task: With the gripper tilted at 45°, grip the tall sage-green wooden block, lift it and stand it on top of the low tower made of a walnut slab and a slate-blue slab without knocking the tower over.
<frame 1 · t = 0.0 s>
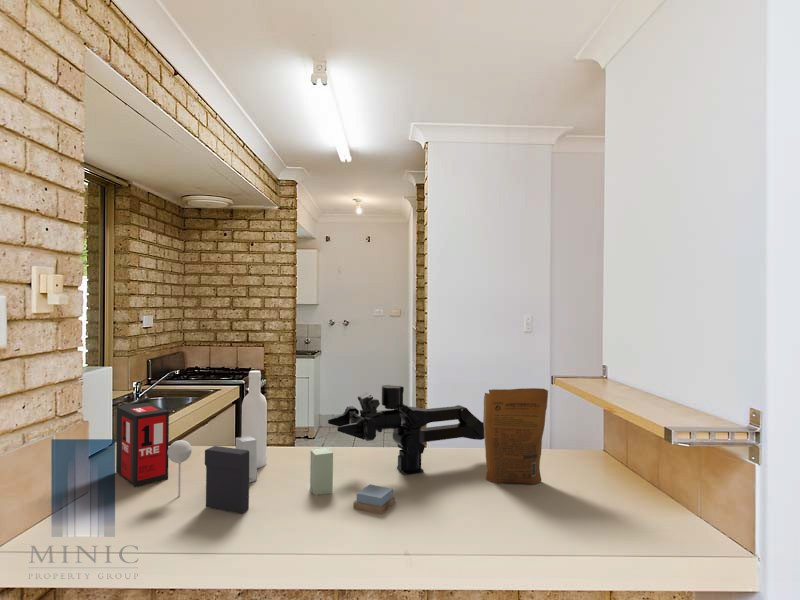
hand: (332, 425, 143), 17 cm above the table, tool horizontal, fingers open, 9 cm apart
lollipop: (179, 497, 132), on the table
skincare box: (245, 480, 145), on the table
pancake mix bag: (514, 482, 145), on the table
bottle: (253, 465, 157), on the table
calculator: (227, 509, 125), on the table
slate top block: (375, 499, 128), point 2 cm above the table, touching walnut base block
cleaning product box: (141, 476, 147), on the table
walnut base block: (374, 507, 128), on the table, touching slate top block
sage block: (321, 490, 137), on the table
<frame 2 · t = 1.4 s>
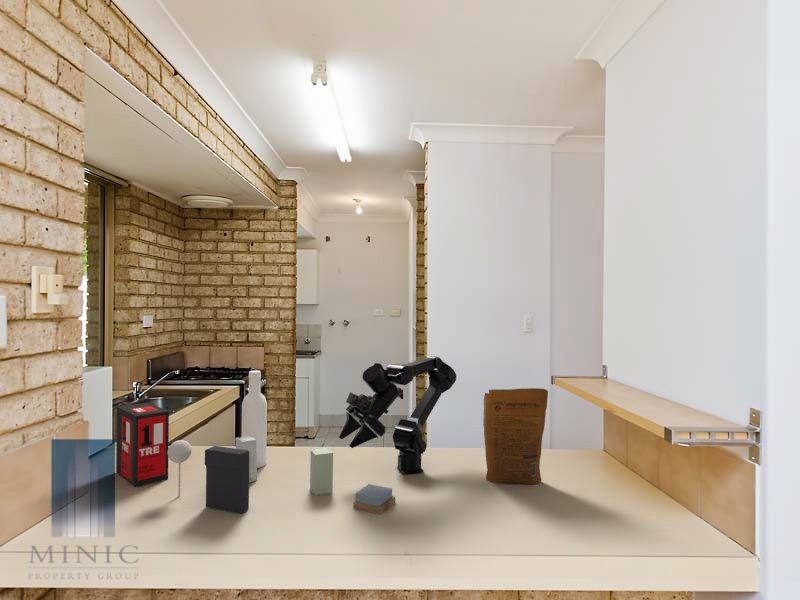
hand: (345, 442, 140), 13 cm above the table, tool tilted 45°, fingers open, 9 cm apart
nothing on the table moved.
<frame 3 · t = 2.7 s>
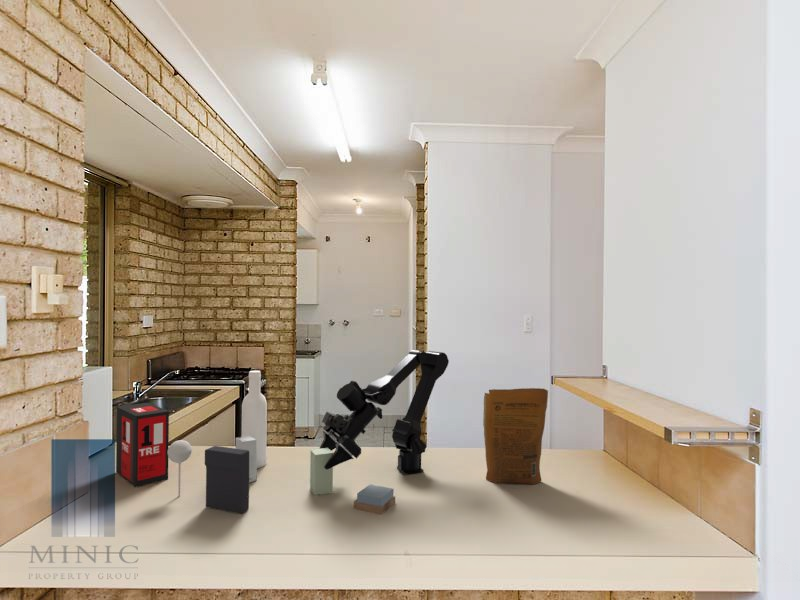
hand: (320, 463, 137), 8 cm above the table, tool tilted 45°, fingers open, 9 cm apart
nothing on the table moved.
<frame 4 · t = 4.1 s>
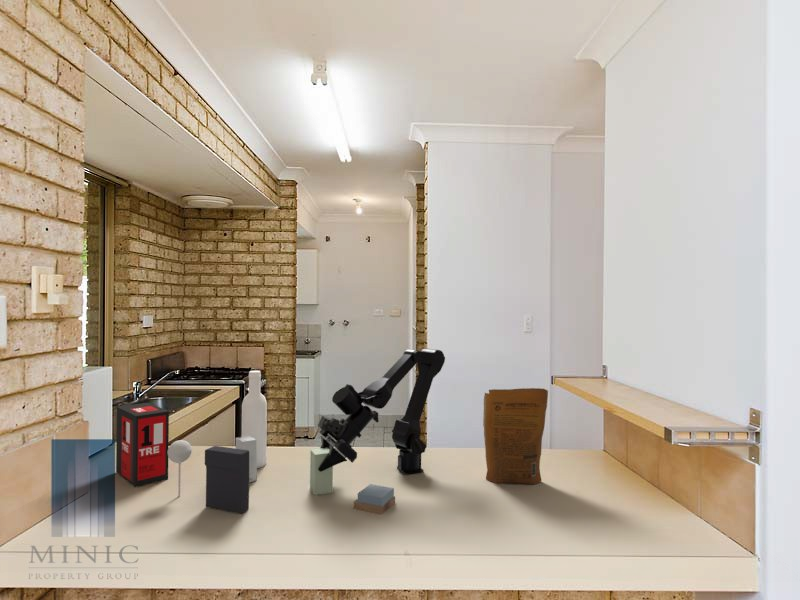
hand: (316, 467, 136), 7 cm above the table, tool tilted 45°, fingers closed on sage block, 5 cm apart
sage block: (321, 490, 137), on the table, touching gripper
everything else where it was.
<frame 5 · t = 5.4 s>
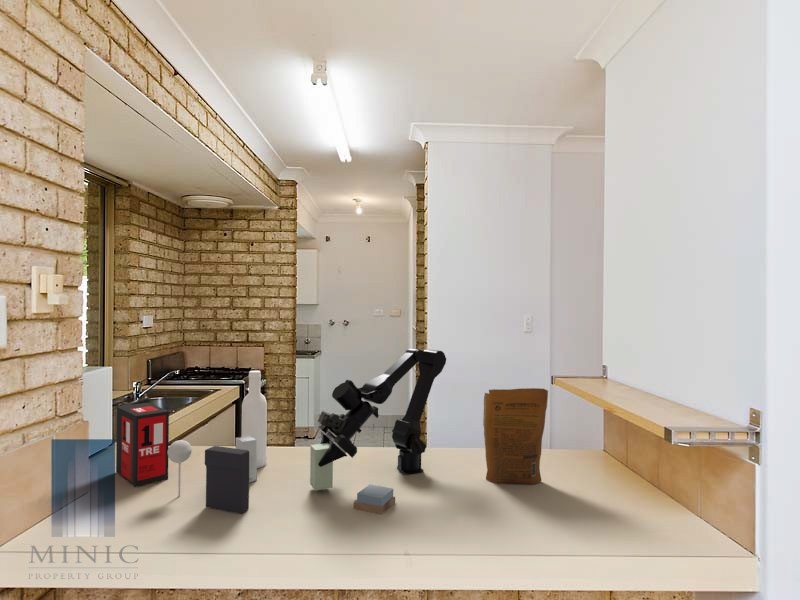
hand: (316, 462, 136), 8 cm above the table, tool tilted 45°, fingers closed on sage block, 5 cm apart
slate top block: (375, 499, 127), point 2 cm above the table
walnut base block: (374, 507, 128), on the table
sage block: (321, 485, 137), point 1 cm above the table, touching gripper
everything else where it was.
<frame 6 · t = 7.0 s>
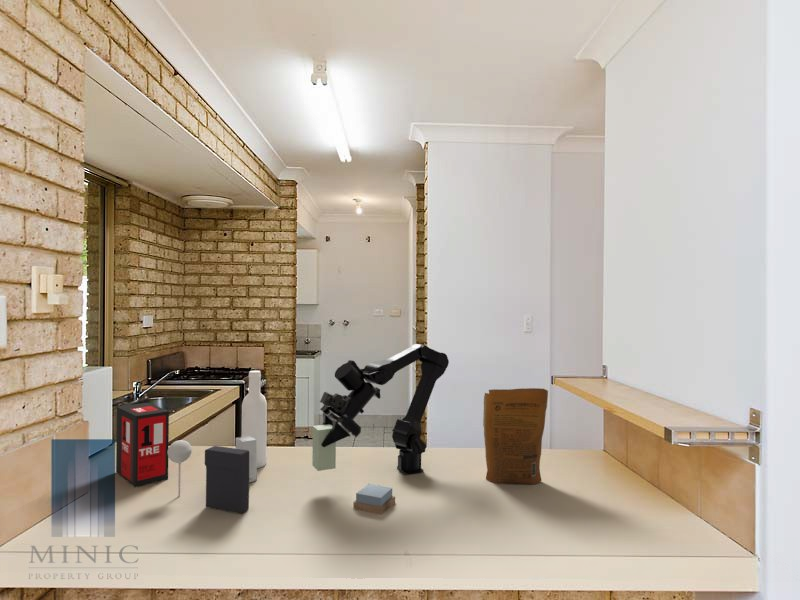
hand: (319, 443, 135), 14 cm above the table, tool tilted 45°, fingers closed on sage block, 5 cm apart
sage block: (323, 466, 136), point 7 cm above the table, touching gripper
everything else where it was.
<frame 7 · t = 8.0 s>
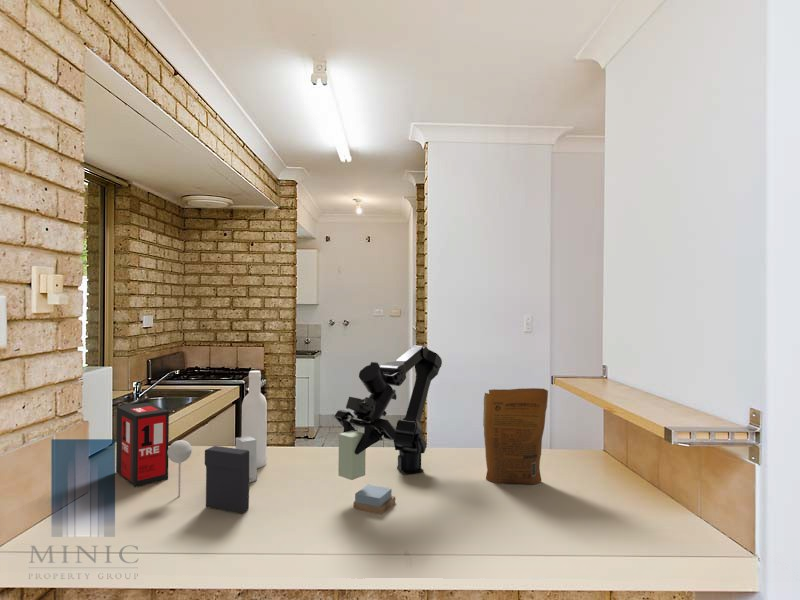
hand: (348, 451, 129), 13 cm above the table, tool tilted 45°, fingers closed on sage block, 5 cm apart
slate top block: (373, 499, 127), point 2 cm above the table, touching walnut base block
walnut base block: (374, 507, 128), on the table, touching slate top block
sage block: (351, 475, 130), point 7 cm above the table, touching gripper
everything else where it was.
when the fingers open (12 cm above the table, at t = 9.6 s): sage block drops 2 cm, resting on slate top block.
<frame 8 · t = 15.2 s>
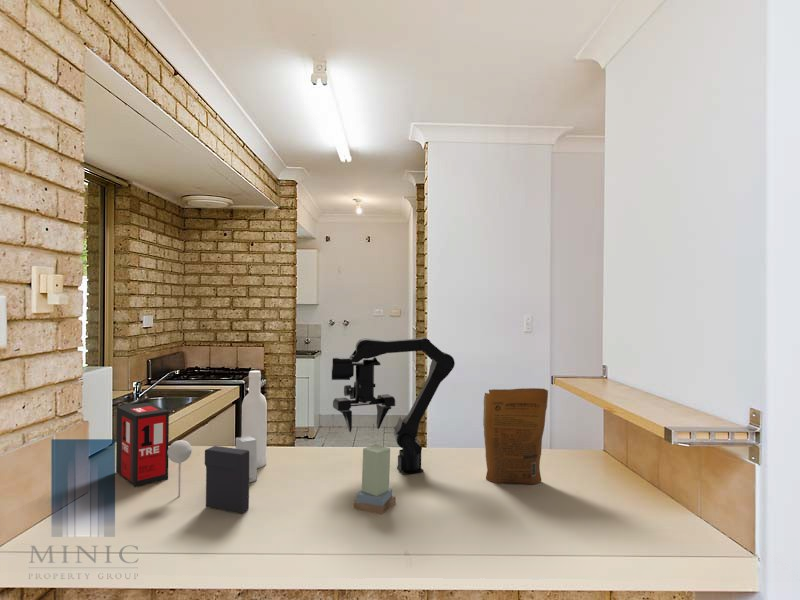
hand: (364, 430, 152), 13 cm above the table, tool pointing down, fingers open, 9 cm apart
slate top block: (374, 499, 128), point 2 cm above the table, touching sage block, walnut base block
sage block: (375, 490, 127), point 4 cm above the table, touching slate top block
everything else where it was.
at the end: sage block 0.2 cm off-centre on the slate top block, point 2.3 cm above the slate top block's base; sage block tilted 1°; slate top block point 1.5 cm above the table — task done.
